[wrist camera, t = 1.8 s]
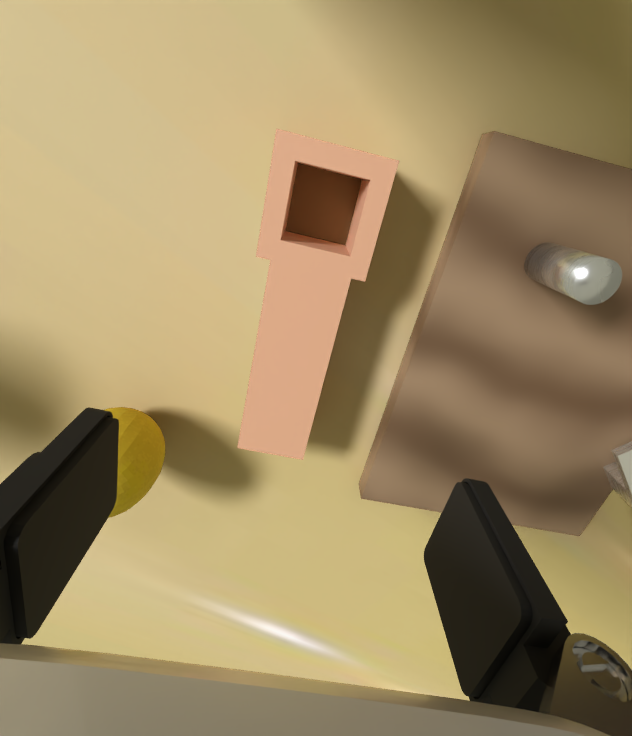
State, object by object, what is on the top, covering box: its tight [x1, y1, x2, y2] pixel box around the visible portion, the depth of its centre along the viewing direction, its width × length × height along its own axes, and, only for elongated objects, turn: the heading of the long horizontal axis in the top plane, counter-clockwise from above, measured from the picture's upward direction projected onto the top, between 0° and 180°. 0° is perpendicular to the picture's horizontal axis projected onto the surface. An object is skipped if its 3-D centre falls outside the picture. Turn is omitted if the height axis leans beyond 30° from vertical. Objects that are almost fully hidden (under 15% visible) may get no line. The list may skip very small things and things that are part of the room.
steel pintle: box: [524, 242, 622, 305], centre depth 19 cm, size 2×2×4 cm
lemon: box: [104, 407, 165, 518], centre depth 24 cm, size 6×6×8 cm
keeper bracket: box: [603, 441, 632, 508], centre depth 25 cm, size 8×4×6 cm, turn 32°
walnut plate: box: [359, 131, 632, 536], centre depth 25 cm, size 23×17×2 cm
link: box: [237, 129, 399, 460], centre depth 22 cm, size 17×5×4 cm, turn 167°
